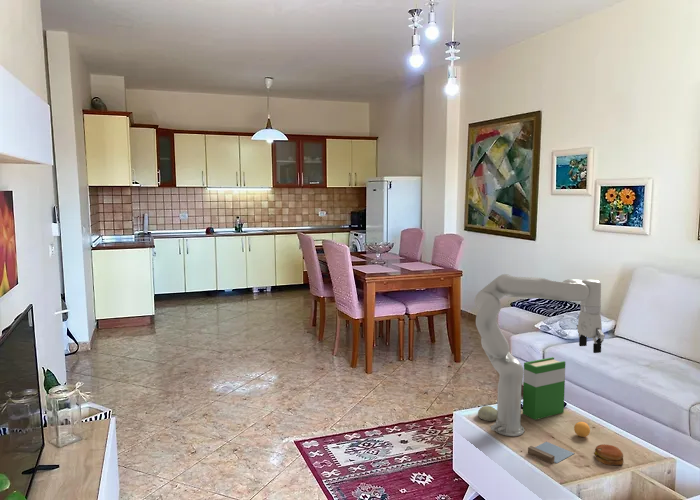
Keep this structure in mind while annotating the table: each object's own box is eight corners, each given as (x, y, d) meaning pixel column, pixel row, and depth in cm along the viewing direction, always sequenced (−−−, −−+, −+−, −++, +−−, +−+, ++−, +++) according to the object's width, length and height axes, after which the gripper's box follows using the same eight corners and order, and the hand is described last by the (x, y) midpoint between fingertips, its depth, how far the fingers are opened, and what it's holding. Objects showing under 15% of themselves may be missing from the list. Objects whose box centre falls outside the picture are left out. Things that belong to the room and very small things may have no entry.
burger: (629, 463, 190) (629, 451, 190) (609, 468, 187) (610, 456, 186) (607, 451, 199) (607, 440, 199) (588, 456, 196) (589, 444, 196)
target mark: (556, 463, 190) (556, 463, 190) (528, 450, 200) (528, 450, 200) (574, 453, 197) (574, 453, 197) (546, 442, 207) (546, 441, 207)
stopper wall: (551, 464, 190) (551, 457, 190) (527, 453, 198) (528, 447, 198) (554, 462, 191) (554, 456, 191) (530, 451, 199) (531, 445, 199)
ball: (584, 441, 207) (585, 426, 207) (571, 435, 212) (571, 421, 212) (592, 436, 211) (593, 422, 210) (578, 431, 216) (579, 418, 215)
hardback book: (551, 406, 242) (552, 357, 239) (563, 412, 235) (565, 361, 233) (522, 413, 234) (524, 362, 232) (534, 419, 228) (536, 367, 225)
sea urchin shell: (496, 409, 235) (499, 402, 229) (498, 426, 230) (501, 419, 224) (476, 408, 236) (478, 401, 230) (477, 425, 231) (479, 418, 225)
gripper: (570, 305, 222) (569, 344, 223) (595, 314, 205) (594, 356, 206) (586, 304, 223) (585, 342, 224) (612, 313, 206) (611, 354, 207)
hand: (589, 349), depth 215 cm, fingers open, 9 cm apart
